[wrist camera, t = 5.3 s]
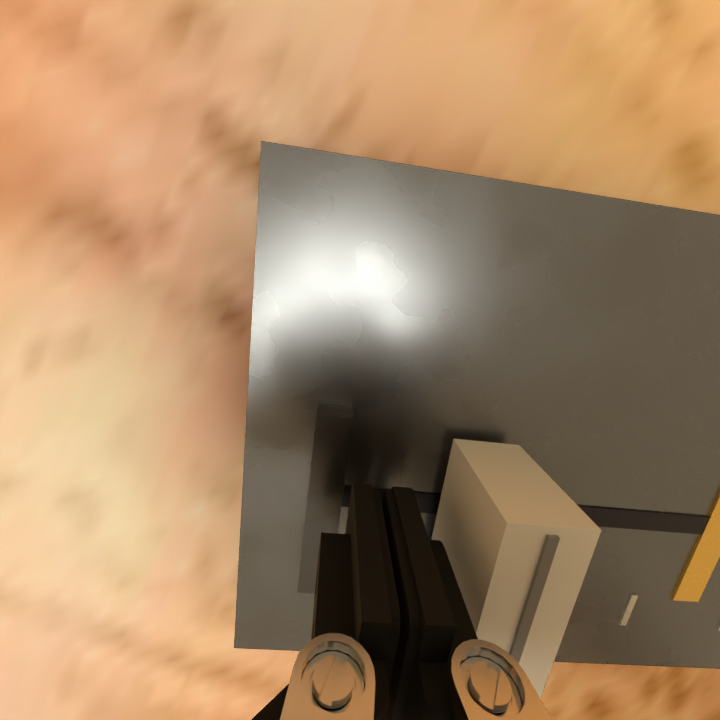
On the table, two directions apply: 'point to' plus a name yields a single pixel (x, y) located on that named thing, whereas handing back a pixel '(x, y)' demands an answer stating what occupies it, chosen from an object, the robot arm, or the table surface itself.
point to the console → (485, 382)
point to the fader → (513, 550)
